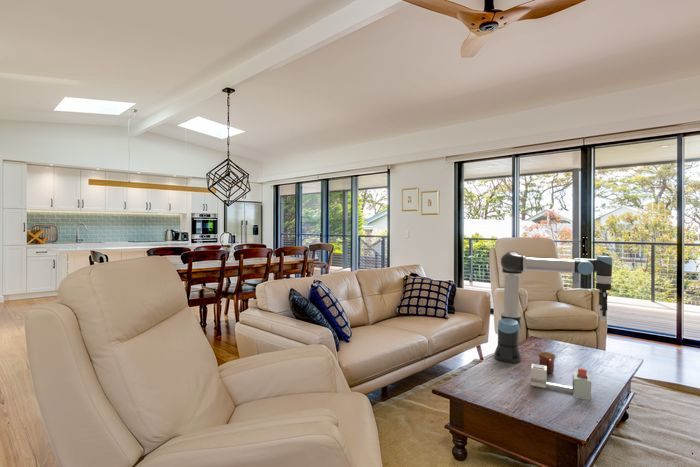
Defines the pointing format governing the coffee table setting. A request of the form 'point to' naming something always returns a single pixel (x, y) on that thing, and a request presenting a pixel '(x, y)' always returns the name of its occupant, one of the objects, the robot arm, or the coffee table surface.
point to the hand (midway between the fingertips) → (602, 319)
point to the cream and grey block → (538, 375)
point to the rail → (558, 387)
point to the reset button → (582, 372)
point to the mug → (547, 361)
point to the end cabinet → (582, 386)
